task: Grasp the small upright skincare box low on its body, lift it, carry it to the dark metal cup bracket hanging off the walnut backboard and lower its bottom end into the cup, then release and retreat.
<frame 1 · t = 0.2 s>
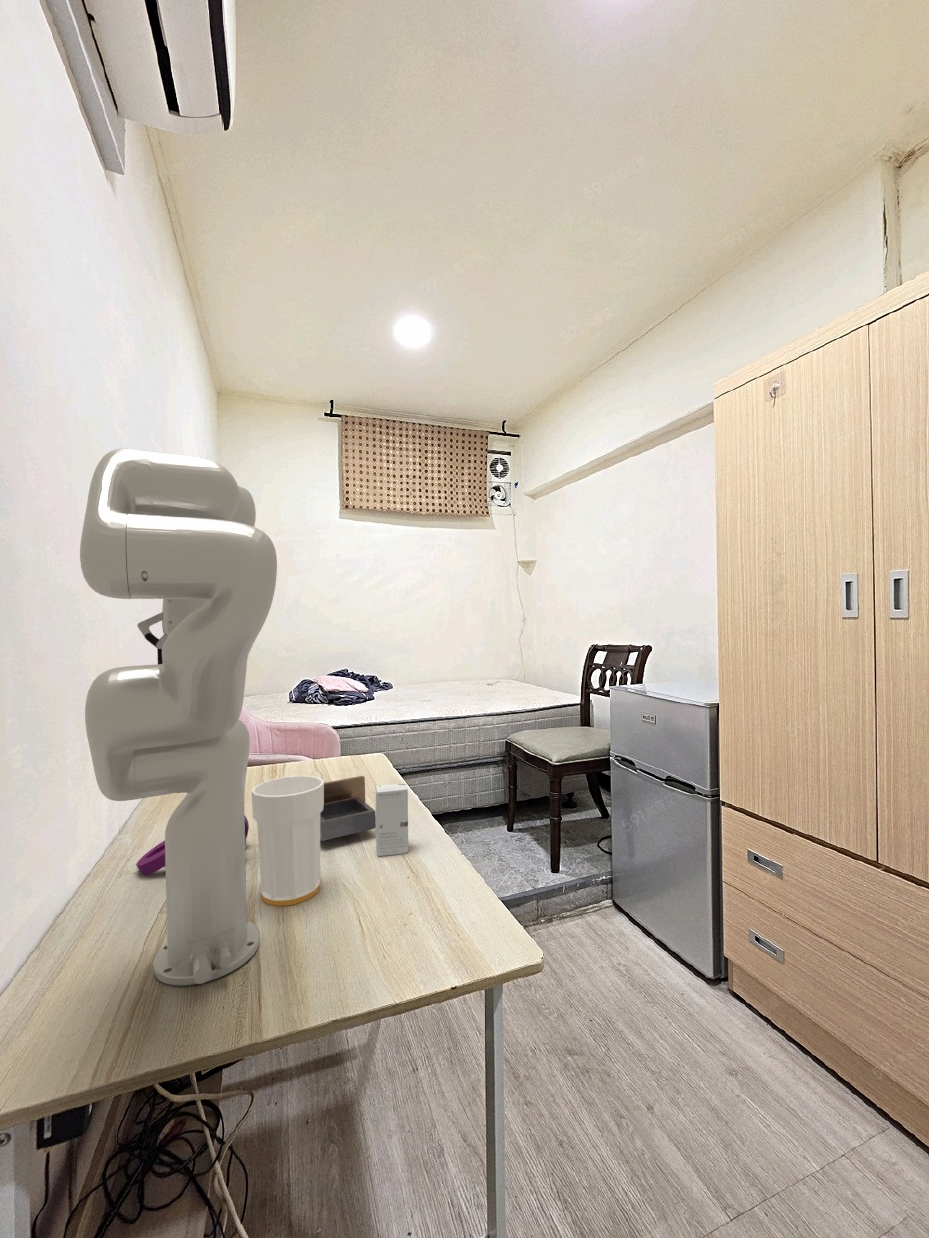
hand: (197, 669, 90), 37 cm above the table, tool pointing down, fingers open, 9 cm apart
mounting bracket: (194, 864, 97), on the table
skincare box: (392, 851, 99), on the table
cup bracket: (341, 835, 107), on the table
cup: (291, 892, 84), on the table
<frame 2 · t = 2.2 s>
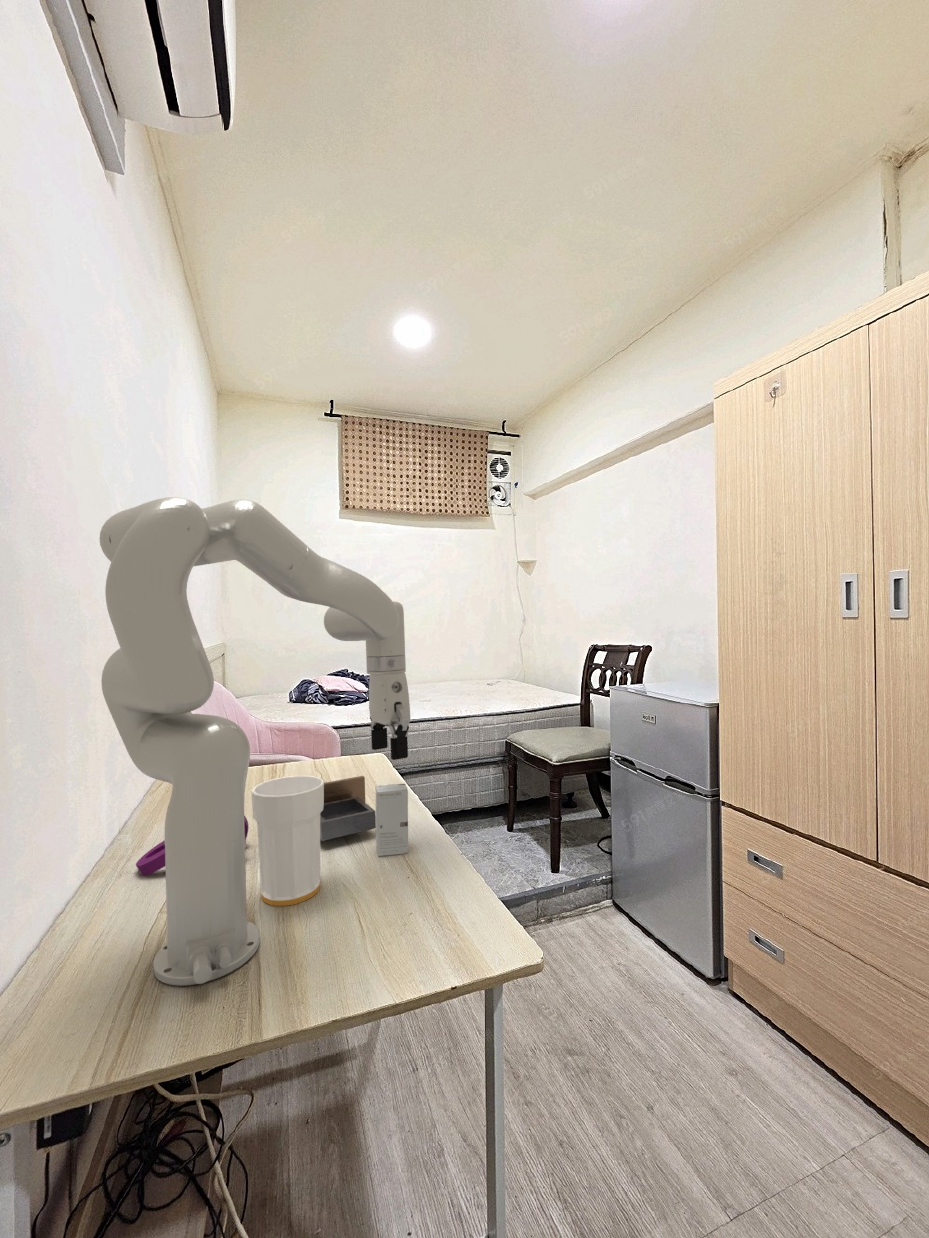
hand: (389, 753, 99), 19 cm above the table, tool pointing down, fingers open, 9 cm apart
nothing on the table moved.
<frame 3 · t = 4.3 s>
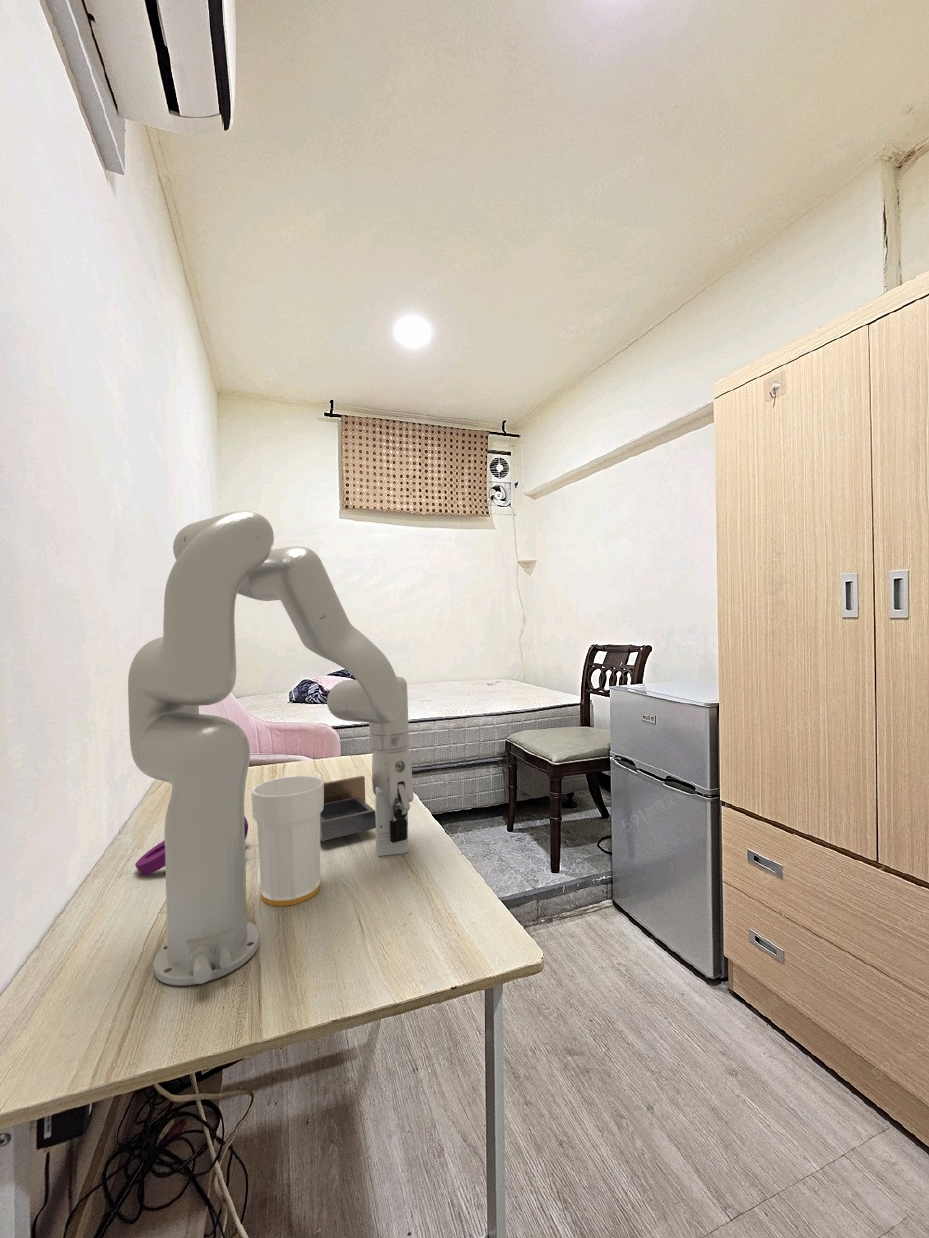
hand: (392, 834, 99), 3 cm above the table, tool pointing down, fingers closed on skincare box, 5 cm apart
skincare box: (392, 851, 99), on the table, touching gripper
everything else where it was.
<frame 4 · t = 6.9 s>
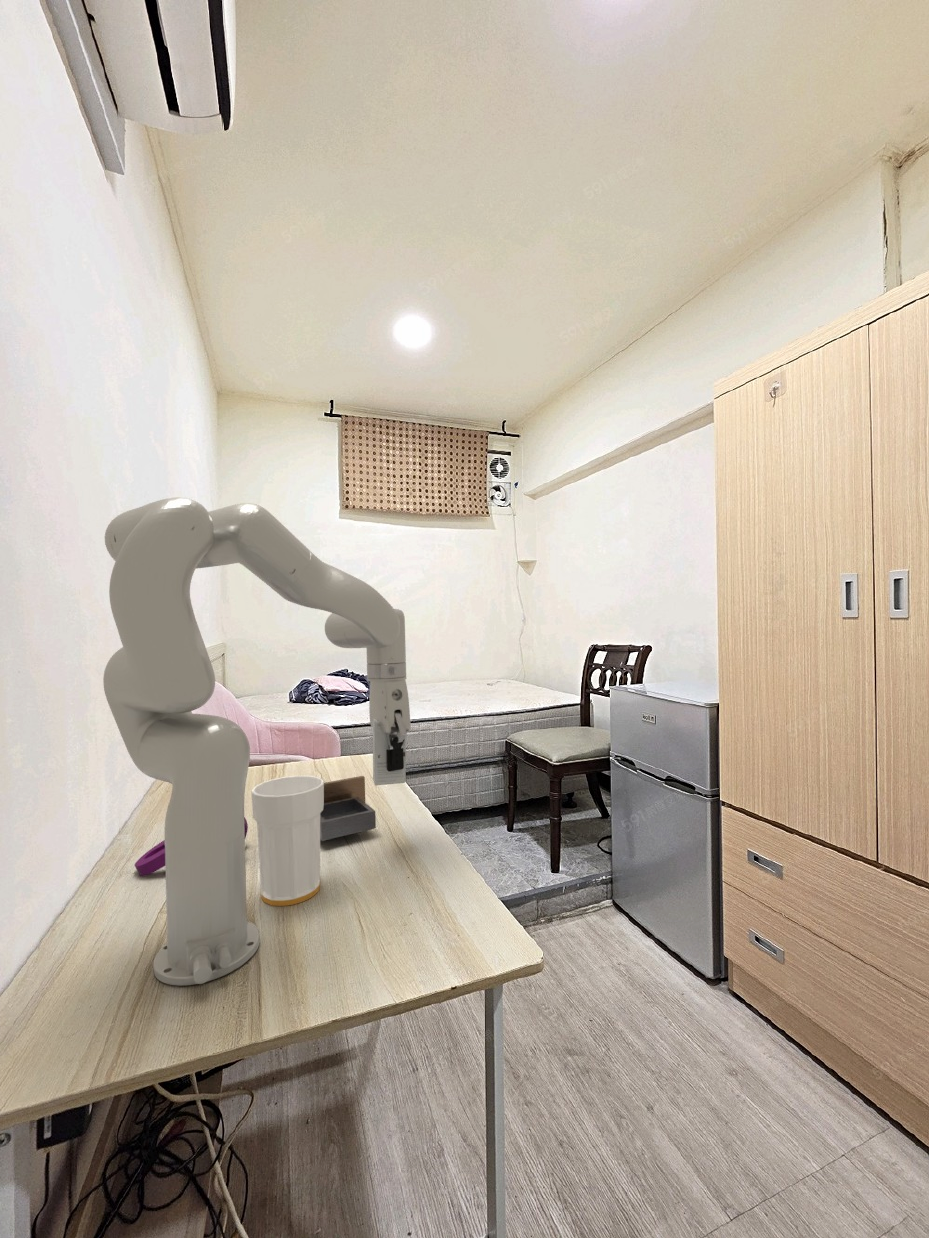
hand: (389, 765, 99), 16 cm above the table, tool pointing down, fingers closed on skincare box, 5 cm apart
skincare box: (389, 782, 99), point 13 cm above the table, touching gripper
everything else where it was.
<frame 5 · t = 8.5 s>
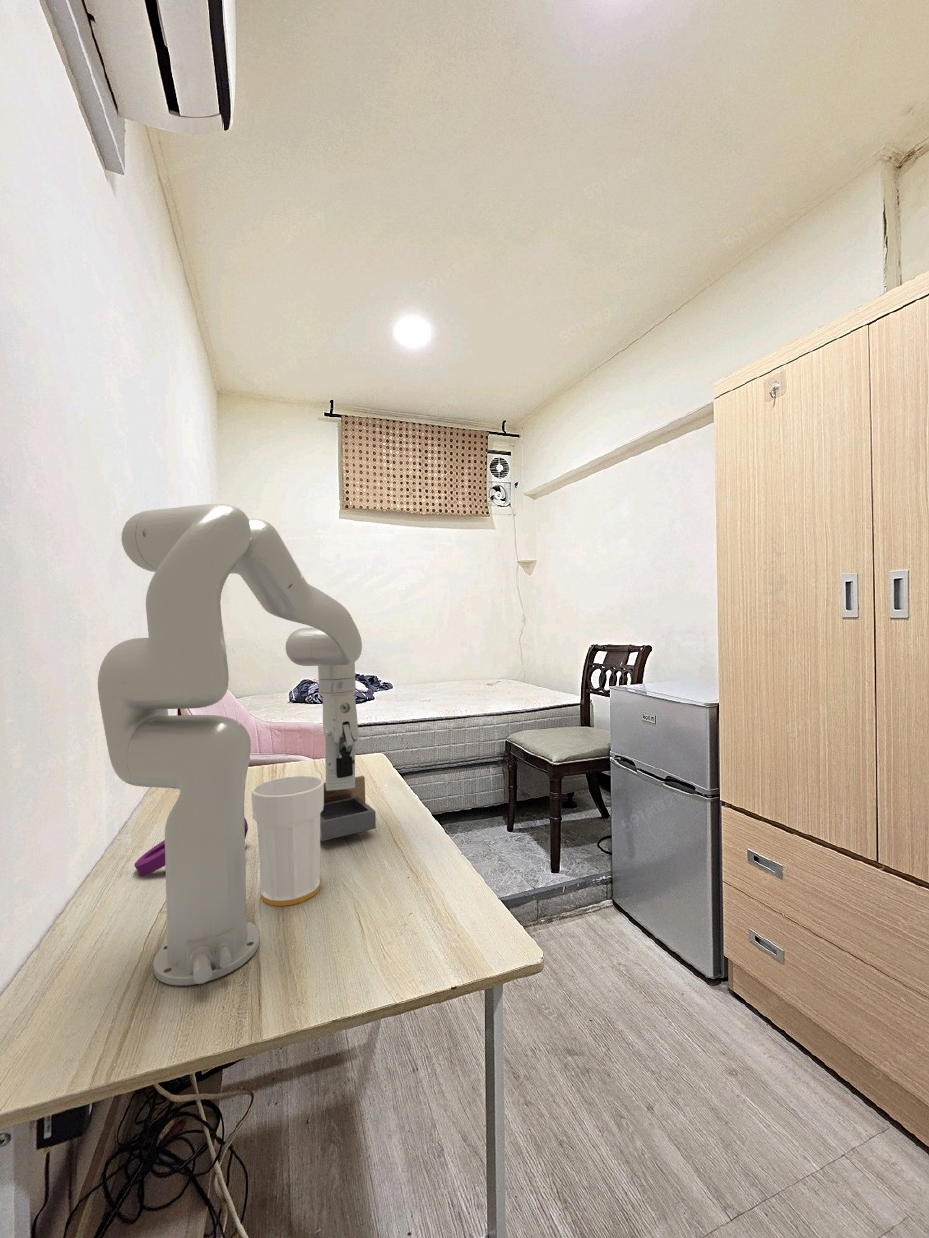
hand: (340, 772, 108), 13 cm above the table, tool pointing down, fingers closed on skincare box, 5 cm apart
skincare box: (341, 787, 108), point 10 cm above the table, touching gripper
everything else where it was.
when the fingers open (7 cm above the table, at t = 9.8 s): skincare box drops 1 cm, resting on cup bracket.
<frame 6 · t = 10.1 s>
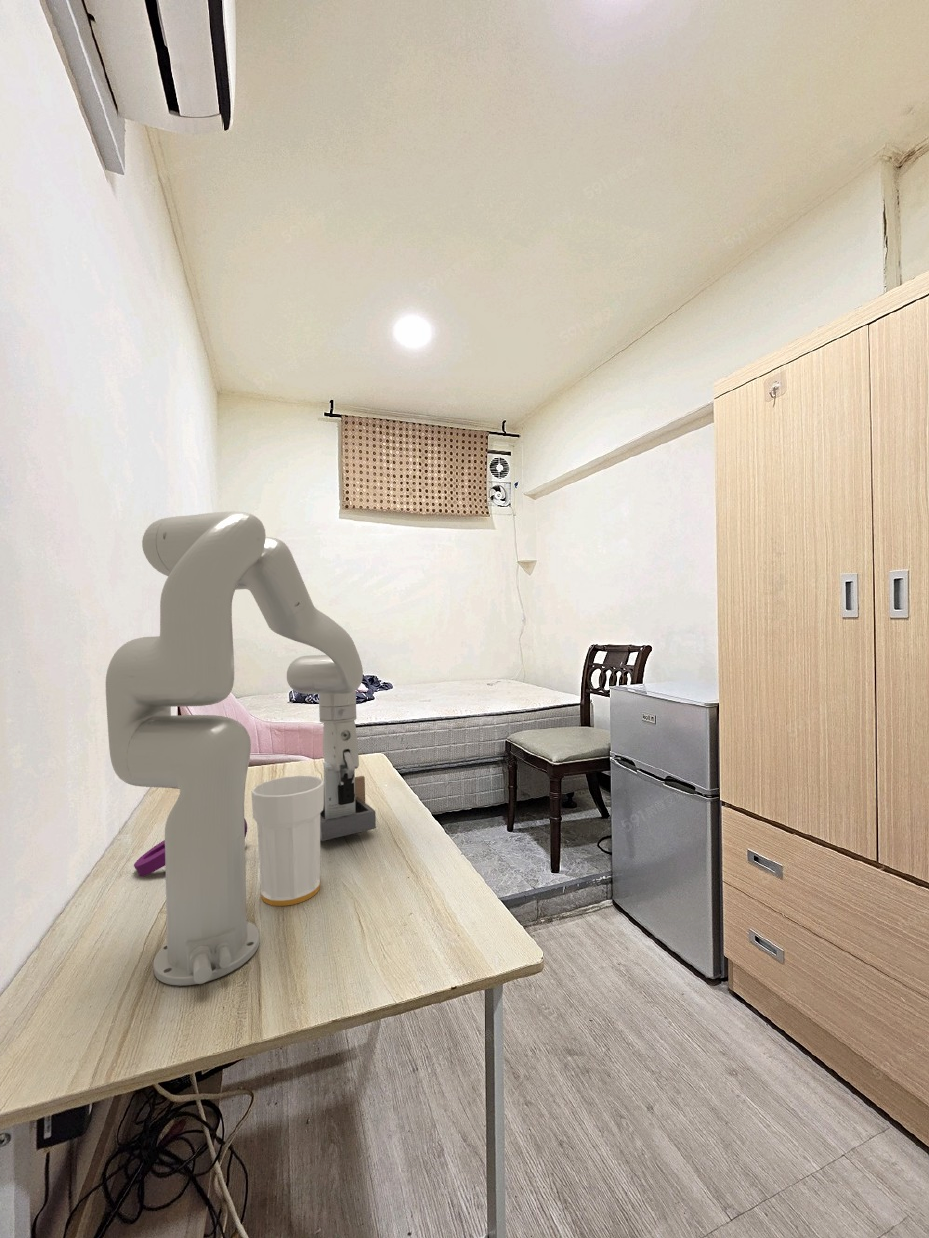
hand: (340, 797, 107), 8 cm above the table, tool pointing down, fingers open, 7 cm apart
skincare box: (340, 821, 107), point 3 cm above the table, touching cup bracket
everything else where it was.
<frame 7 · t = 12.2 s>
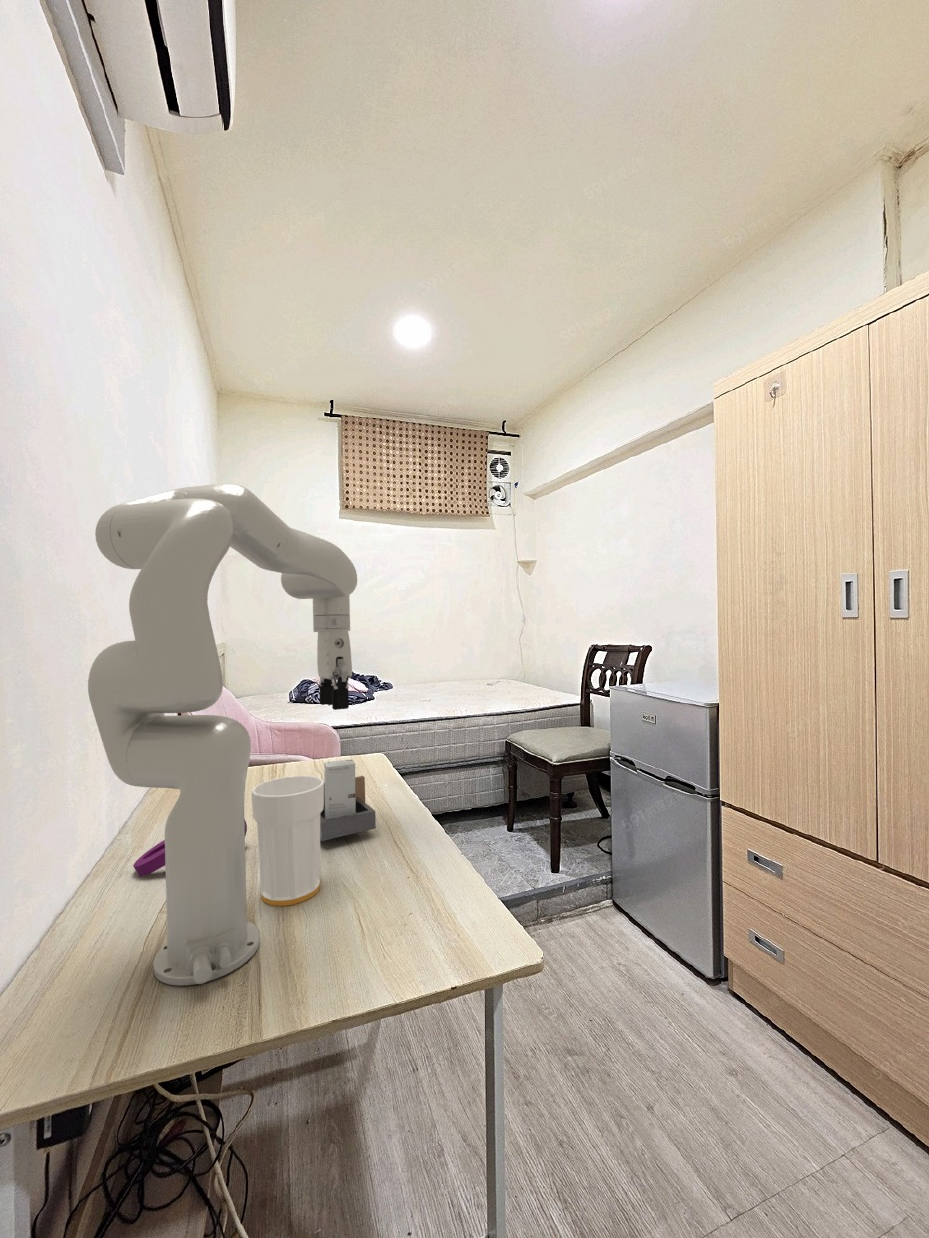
hand: (333, 706, 107), 27 cm above the table, tool pointing down, fingers open, 9 cm apart
nothing on the table moved.
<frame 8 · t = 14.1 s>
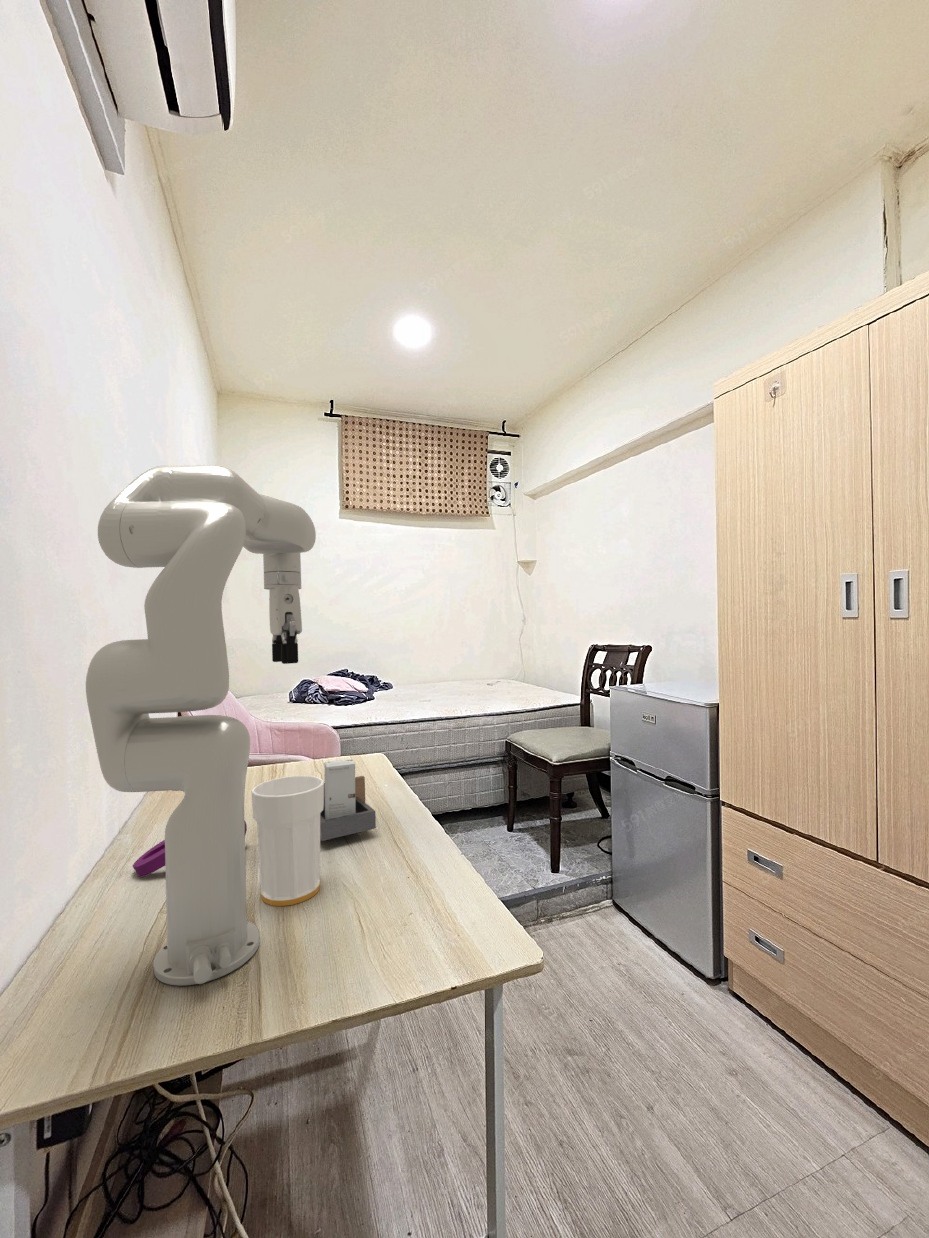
hand: (284, 662, 109), 36 cm above the table, tool pointing down, fingers open, 9 cm apart
nothing on the table moved.
at the end: skincare box inside the target area on the cup bracket (0.1 cm from its centre), point 2.8 cm above the cup bracket's base; skincare box tilted 0°; skincare box touching cup bracket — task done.
